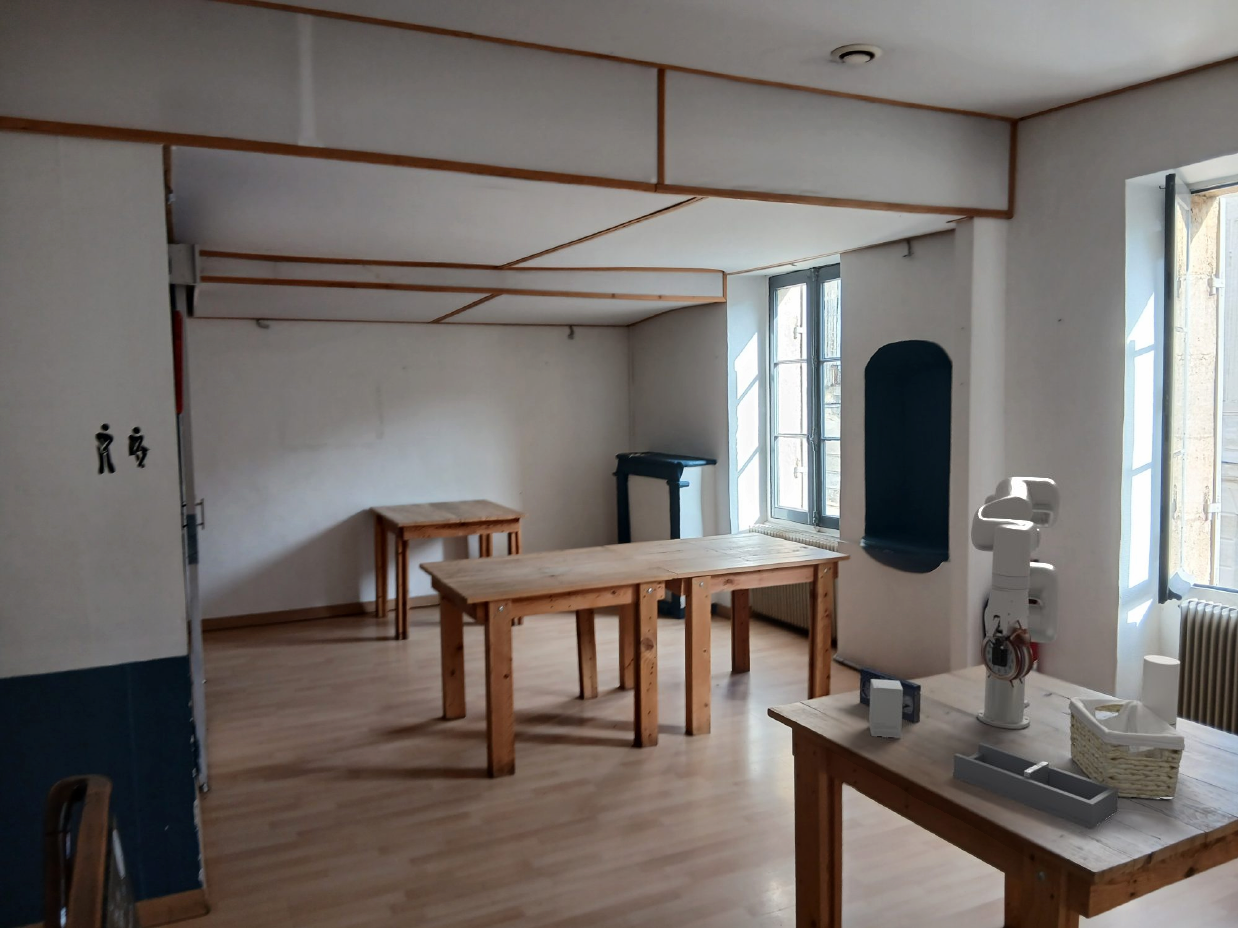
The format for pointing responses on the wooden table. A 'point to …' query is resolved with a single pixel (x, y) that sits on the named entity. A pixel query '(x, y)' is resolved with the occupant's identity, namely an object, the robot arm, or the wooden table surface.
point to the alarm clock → (1010, 656)
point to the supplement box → (885, 708)
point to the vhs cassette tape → (909, 693)
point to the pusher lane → (1038, 786)
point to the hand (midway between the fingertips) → (1006, 662)
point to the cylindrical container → (1161, 687)
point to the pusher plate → (1038, 773)
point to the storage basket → (1125, 747)
